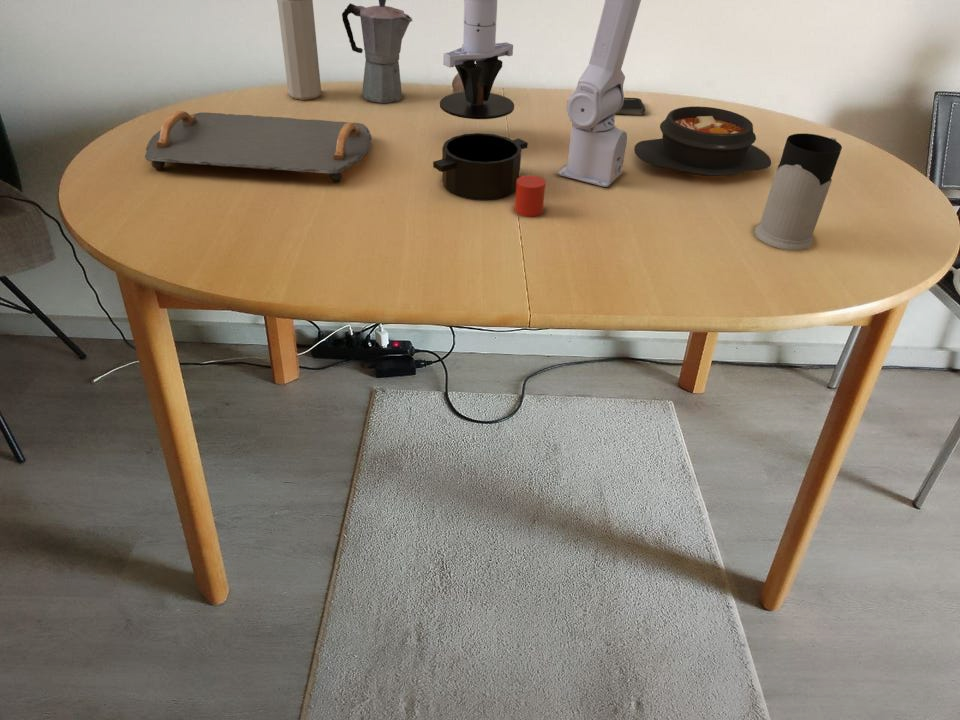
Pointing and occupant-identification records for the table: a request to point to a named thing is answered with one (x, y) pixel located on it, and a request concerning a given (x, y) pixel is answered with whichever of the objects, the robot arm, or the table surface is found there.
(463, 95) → the cooker lid
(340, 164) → the serving tray
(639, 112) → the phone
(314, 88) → the water bottle
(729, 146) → the casserole
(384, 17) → the moka pot
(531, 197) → the tin
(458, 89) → the garlic bulb
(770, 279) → the table surface
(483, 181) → the cooker
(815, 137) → the glass holder
